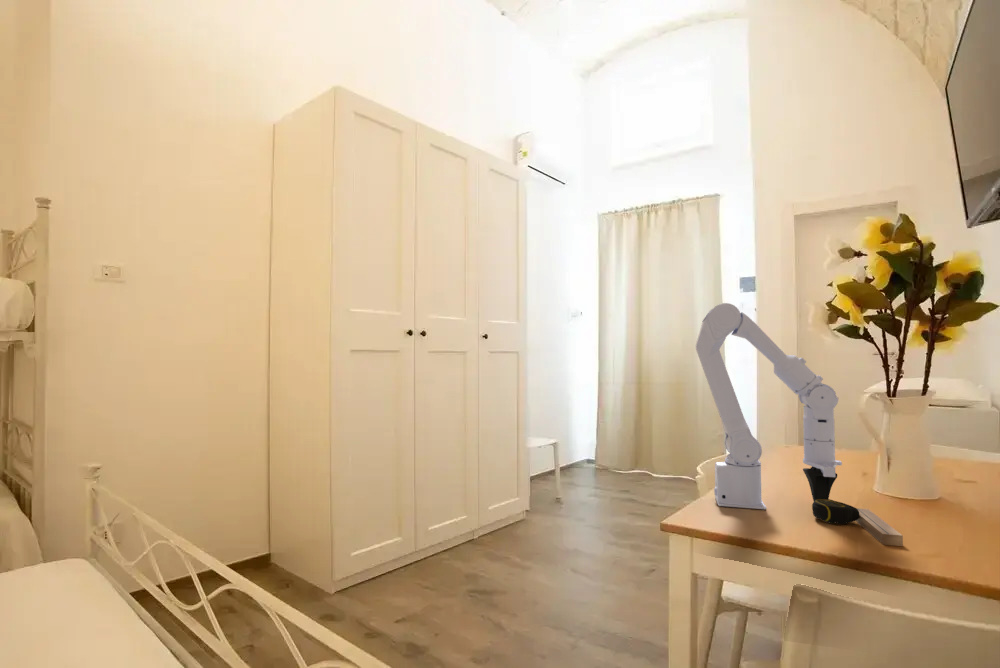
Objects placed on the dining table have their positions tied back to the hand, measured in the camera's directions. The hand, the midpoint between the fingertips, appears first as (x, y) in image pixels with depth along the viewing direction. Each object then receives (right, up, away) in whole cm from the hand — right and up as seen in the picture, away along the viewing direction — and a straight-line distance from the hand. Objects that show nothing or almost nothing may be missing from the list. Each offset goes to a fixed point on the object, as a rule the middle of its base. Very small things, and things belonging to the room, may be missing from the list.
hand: (820, 504), depth 113 cm
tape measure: (-2, -1, -7) cm, 7 cm away
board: (+2, -1, -13) cm, 14 cm away
